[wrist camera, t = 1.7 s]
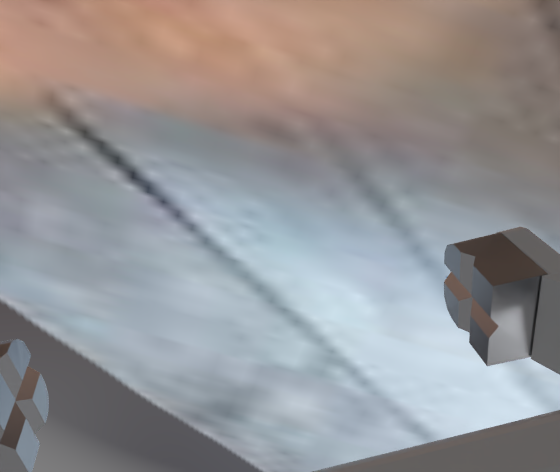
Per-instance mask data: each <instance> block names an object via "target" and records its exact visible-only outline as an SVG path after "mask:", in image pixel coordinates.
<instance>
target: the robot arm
mask: <svg viewBox="0 0 560 472" xmlns="http://www.w3.org/2000/svg"><path fill="white" fill-rule="evenodd" d="M444 264H445V265H446V266H447V267H448V268H449V270H450V271H451V273H450V274H449V276H448V277H447V279H446V280H445V282H444V297H445V301H446V305H447V309H448V311H449V314H450V316H451V318H452V319H453V321H454V322H455V324H456V325H457V327H458V328H461V329H463V330H465V331H468V332H470V338H469V343H470V344H471V345H472V347H473V348H474V349H475V351H476V352H477V353H478V355H479V356H480V357H481V359H482V360H483V361H484V363H485V364H486V365H487V366H490V365H495V364H499V363H504V362H509V361H514V360H518V359H523V358H528V357H531V359H532V360H534V361H536V362H538V363H540V364H541V365H543V366H545V367H547V368H549V369H551V370H552V371H554V372H556V373H558V374H560V254H559V253H557V252H556V251H555V250H554V249H552V248H551V247H550V246H549V245H547V244H546V243H545V242H543V241H542V240H541V239H540V238H538V237H537V236H536V235H535V234H533V233H532V232H531V231H530V230H528V229H527V228H523V227H518V228H514V229H510V230H506V231H502V232H498V233H496V234H492V235H488V236H484V237H479V238H475V239H471V240H467V241H462V242H458V243H454V244H450V245H447V247H446V250H445V258H444ZM30 357H31V354H30V352H29V351H28V349H27V347H26V345H25V343H24V342H23V341H21V340H18V339H13V340H8V341H3V342H0V472H32V469H33V466H34V462H35V458H36V455H37V452H38V448H39V445H40V443H39V441H38V440H37V438H36V436H35V434H36V433H37V432H38V431H39V430H40V429H41V427H42V426H43V425H44V424H45V422H46V419H47V415H48V410H49V408H48V392H47V388H46V385H45V382H44V380H43V378H42V376H41V374H40V373H39V372H37V371H35V370H34V369H31V368H30V367H28V363H29V360H30ZM313 472H560V410H558V411H554V412H550V413H546V414H542V415H538V416H534V417H530V418H526V419H522V420H518V421H515V422H511V423H507V424H503V425H499V426H495V427H491V428H486V429H482V430H478V431H474V432H470V433H466V434H462V435H458V436H454V437H450V438H446V439H442V440H438V441H434V442H430V443H426V444H422V445H418V446H414V447H410V448H406V449H402V450H398V451H394V452H389V453H385V454H381V455H377V456H373V457H369V458H365V459H361V460H357V461H353V462H349V463H345V464H341V465H337V466H333V467H329V468H325V469H321V470H317V471H313Z"/></svg>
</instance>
